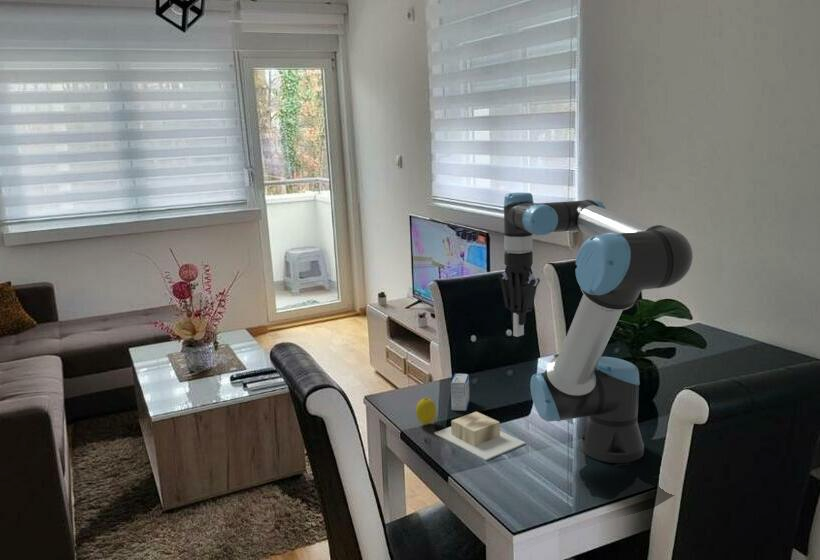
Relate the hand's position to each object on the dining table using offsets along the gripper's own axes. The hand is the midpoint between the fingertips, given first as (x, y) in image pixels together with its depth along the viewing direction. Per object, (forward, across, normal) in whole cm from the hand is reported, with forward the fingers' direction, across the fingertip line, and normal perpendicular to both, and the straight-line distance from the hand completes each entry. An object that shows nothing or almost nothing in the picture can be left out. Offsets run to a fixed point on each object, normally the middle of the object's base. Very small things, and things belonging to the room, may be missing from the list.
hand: (518, 335), depth 182 cm
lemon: (+24, +14, +22) cm, 36 cm away
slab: (+22, -5, +18) cm, 29 cm away
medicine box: (+24, +17, +6) cm, 30 cm away
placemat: (+24, -2, +18) cm, 30 cm away
